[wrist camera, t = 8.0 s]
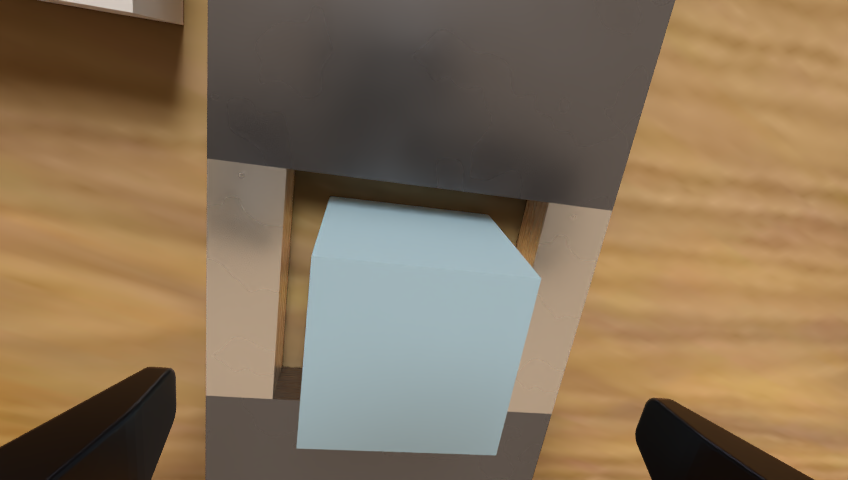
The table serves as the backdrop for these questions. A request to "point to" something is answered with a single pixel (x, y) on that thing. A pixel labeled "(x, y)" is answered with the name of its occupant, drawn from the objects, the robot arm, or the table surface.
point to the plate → (408, 164)
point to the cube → (411, 330)
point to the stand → (134, 8)
